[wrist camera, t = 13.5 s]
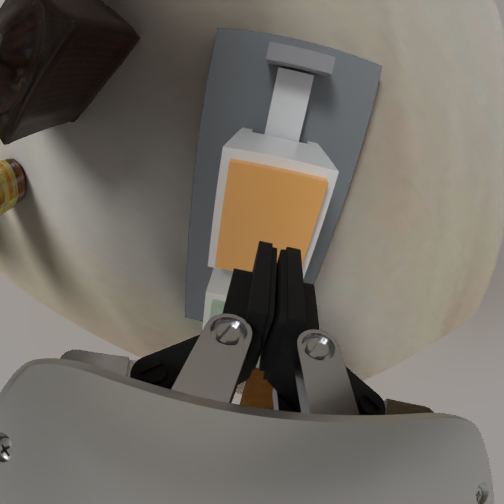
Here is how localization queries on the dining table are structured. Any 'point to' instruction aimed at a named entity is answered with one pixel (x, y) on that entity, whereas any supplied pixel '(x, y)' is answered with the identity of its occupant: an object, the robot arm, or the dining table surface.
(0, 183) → the sauce bottle
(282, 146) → the module
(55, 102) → the pepper mill
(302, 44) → the rail board
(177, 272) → the dining table surface
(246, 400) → the disposable coffee cup
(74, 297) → the dining table surface
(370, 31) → the dining table surface
